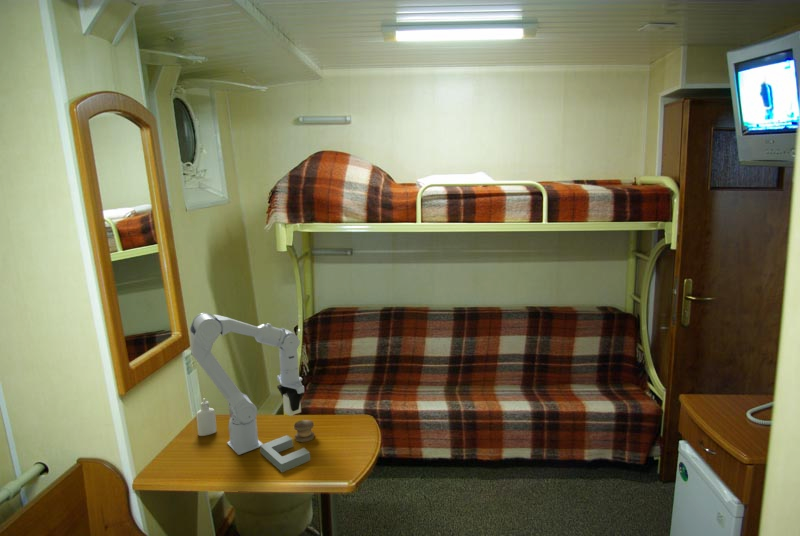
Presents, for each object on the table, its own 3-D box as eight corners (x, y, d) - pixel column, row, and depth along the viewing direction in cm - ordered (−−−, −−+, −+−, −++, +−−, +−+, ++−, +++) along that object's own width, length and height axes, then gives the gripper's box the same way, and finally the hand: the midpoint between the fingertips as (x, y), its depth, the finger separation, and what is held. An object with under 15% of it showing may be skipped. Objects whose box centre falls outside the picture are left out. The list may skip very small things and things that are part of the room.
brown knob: (291, 437, 155) (290, 424, 154) (308, 430, 159) (307, 418, 158) (301, 444, 151) (300, 430, 150) (317, 437, 154) (317, 424, 154)
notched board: (260, 452, 146) (259, 445, 146) (287, 442, 152) (287, 434, 152) (282, 472, 136) (281, 464, 135) (310, 460, 141) (309, 452, 141)
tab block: (284, 411, 158) (282, 394, 157) (295, 408, 160) (294, 390, 160) (289, 415, 155) (288, 398, 154) (301, 412, 157) (300, 394, 156)
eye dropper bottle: (201, 429, 162) (198, 395, 160) (218, 429, 162) (215, 395, 160) (196, 436, 158) (192, 401, 156) (213, 436, 157) (210, 401, 156)
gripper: (311, 370, 152) (314, 411, 154) (289, 359, 163) (292, 397, 165) (291, 376, 148) (294, 418, 150) (270, 364, 159) (273, 403, 161)
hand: (291, 407), depth 157 cm, fingers closed on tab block, 4 cm apart
